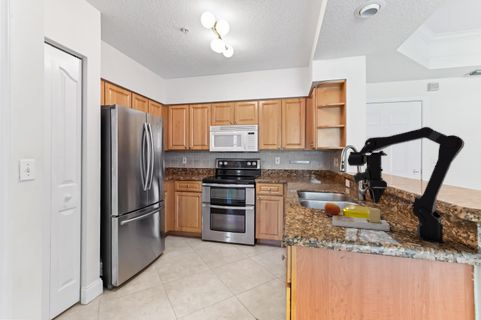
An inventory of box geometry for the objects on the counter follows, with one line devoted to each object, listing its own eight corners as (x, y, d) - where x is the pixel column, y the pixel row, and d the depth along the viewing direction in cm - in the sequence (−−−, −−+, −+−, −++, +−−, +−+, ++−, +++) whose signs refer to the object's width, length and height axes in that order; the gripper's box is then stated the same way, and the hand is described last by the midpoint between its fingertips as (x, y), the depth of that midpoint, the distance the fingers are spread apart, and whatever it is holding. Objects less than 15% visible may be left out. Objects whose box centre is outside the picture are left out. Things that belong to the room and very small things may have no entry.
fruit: (318, 212, 120) (324, 199, 121) (327, 218, 122) (333, 205, 123) (328, 215, 112) (335, 201, 113) (339, 222, 114) (345, 208, 116)
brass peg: (378, 226, 99) (378, 208, 99) (380, 229, 95) (380, 210, 95) (368, 225, 100) (368, 207, 100) (369, 228, 97) (369, 209, 96)
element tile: (375, 222, 106) (375, 212, 106) (341, 217, 115) (341, 208, 115) (378, 216, 118) (378, 207, 118) (348, 212, 127) (348, 204, 127)
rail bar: (385, 225, 99) (385, 219, 99) (389, 231, 92) (389, 224, 92) (332, 220, 108) (332, 215, 108) (332, 225, 100) (332, 219, 100)
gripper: (351, 165, 109) (351, 197, 109) (356, 166, 92) (356, 204, 92) (377, 165, 105) (377, 198, 105) (387, 166, 88) (387, 205, 88)
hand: (374, 201), depth 97 cm, fingers open, 9 cm apart
